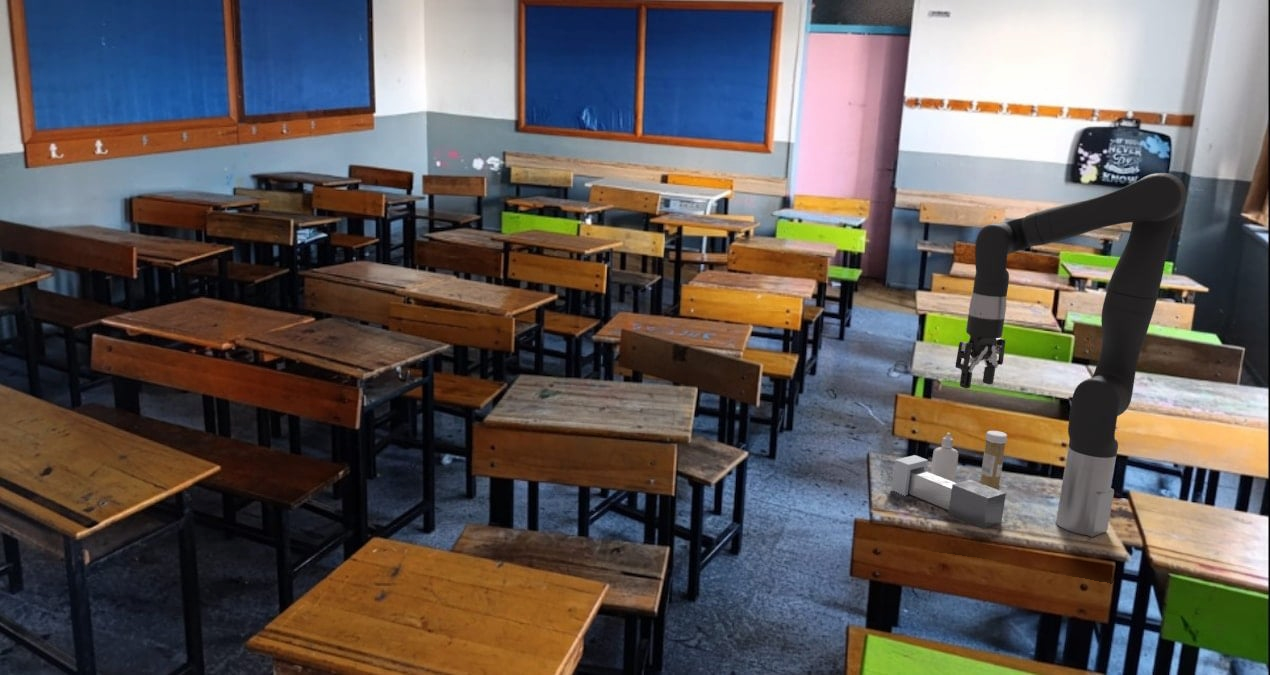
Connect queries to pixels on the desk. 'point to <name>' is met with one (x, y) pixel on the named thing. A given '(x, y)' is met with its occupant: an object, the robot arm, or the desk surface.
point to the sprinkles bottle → (993, 459)
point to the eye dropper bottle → (945, 460)
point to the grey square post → (930, 488)
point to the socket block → (906, 472)
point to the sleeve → (977, 503)
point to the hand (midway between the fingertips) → (976, 385)
